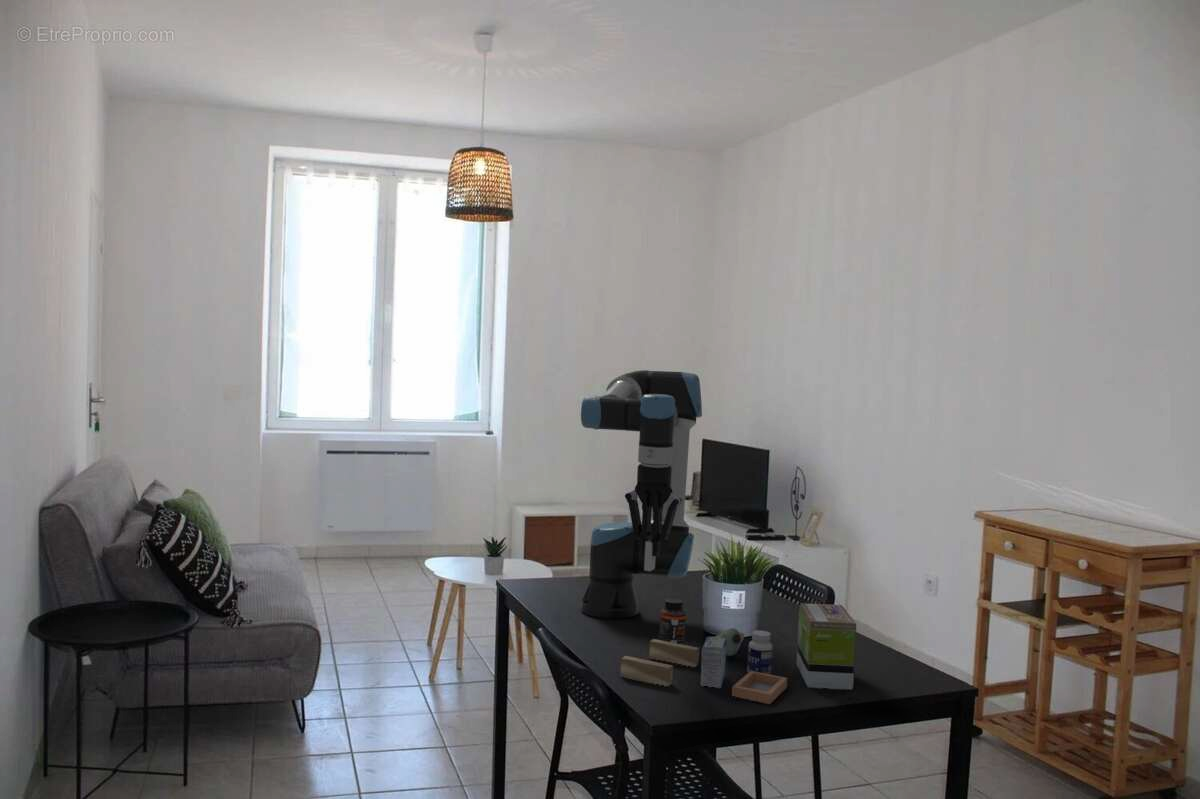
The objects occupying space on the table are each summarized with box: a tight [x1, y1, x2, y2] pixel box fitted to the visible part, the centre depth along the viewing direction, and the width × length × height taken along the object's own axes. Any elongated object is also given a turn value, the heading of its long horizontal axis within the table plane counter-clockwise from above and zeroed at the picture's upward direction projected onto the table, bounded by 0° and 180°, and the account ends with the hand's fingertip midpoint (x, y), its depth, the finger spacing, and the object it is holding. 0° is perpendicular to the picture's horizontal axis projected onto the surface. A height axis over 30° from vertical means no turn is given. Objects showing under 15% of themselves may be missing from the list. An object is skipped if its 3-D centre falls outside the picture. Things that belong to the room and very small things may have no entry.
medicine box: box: [700, 636, 727, 689], centre depth 213 cm, size 8×4×9 cm, turn 168°
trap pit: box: [731, 671, 788, 705], centre depth 209 cm, size 12×8×2 cm, turn 153°
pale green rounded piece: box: [715, 627, 746, 657], centre depth 231 cm, size 8×4×7 cm, turn 121°
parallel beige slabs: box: [620, 638, 700, 687], centre depth 219 cm, size 17×11×4 cm, turn 153°
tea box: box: [796, 602, 857, 691], centre depth 220 cm, size 15×10×15 cm, turn 178°
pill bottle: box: [746, 630, 774, 675], centre depth 221 cm, size 5×5×9 cm
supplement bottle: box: [658, 598, 687, 645], centre depth 236 cm, size 6×6×11 cm
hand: (649, 569), depth 224 cm, fingers closed
